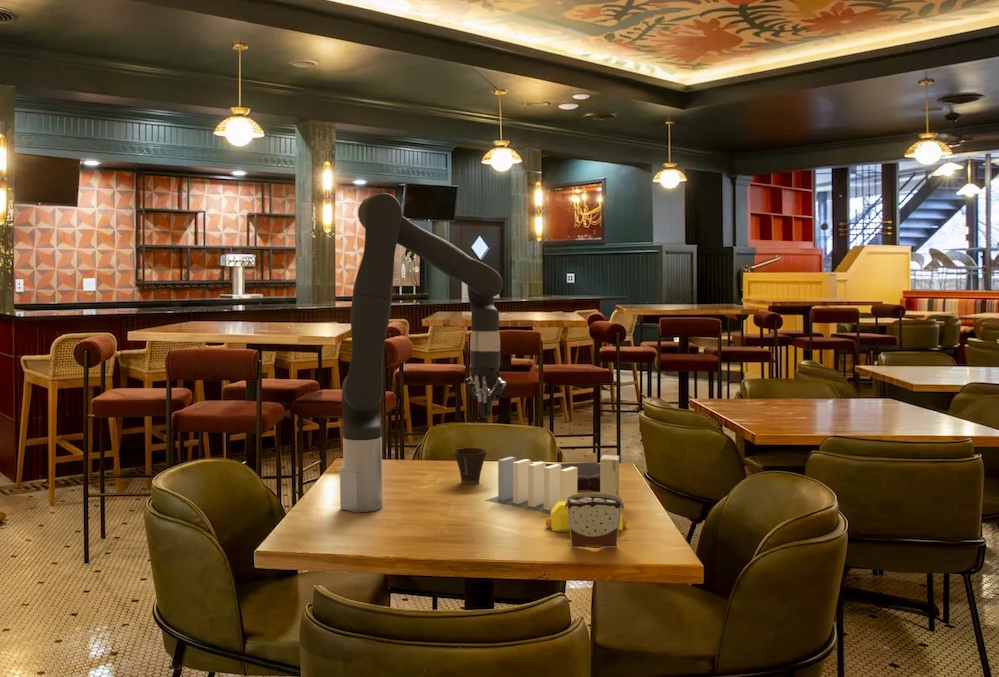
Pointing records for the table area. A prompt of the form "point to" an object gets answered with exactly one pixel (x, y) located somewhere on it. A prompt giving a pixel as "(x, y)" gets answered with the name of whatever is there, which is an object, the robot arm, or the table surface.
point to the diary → (585, 475)
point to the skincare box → (609, 475)
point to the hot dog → (561, 521)
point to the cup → (470, 464)
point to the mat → (520, 505)
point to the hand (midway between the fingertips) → (485, 416)
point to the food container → (594, 519)
